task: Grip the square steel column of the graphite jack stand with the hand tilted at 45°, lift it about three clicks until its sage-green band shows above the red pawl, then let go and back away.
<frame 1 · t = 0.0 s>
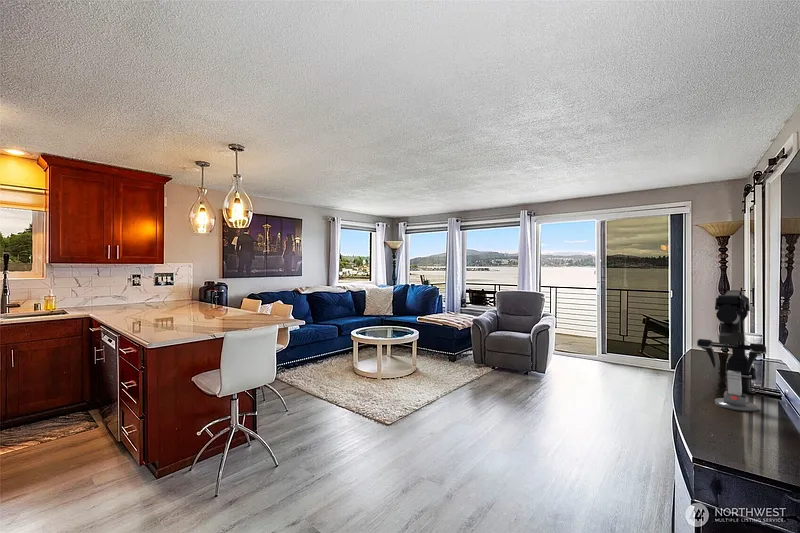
hand: (731, 369, 133), 15 cm above the cabinet, fingers open, 9 cm apart
column: (734, 387, 138), point 7 cm above the cabinet, slide at 0.0 cm
stand base: (735, 406, 138), on the cabinet
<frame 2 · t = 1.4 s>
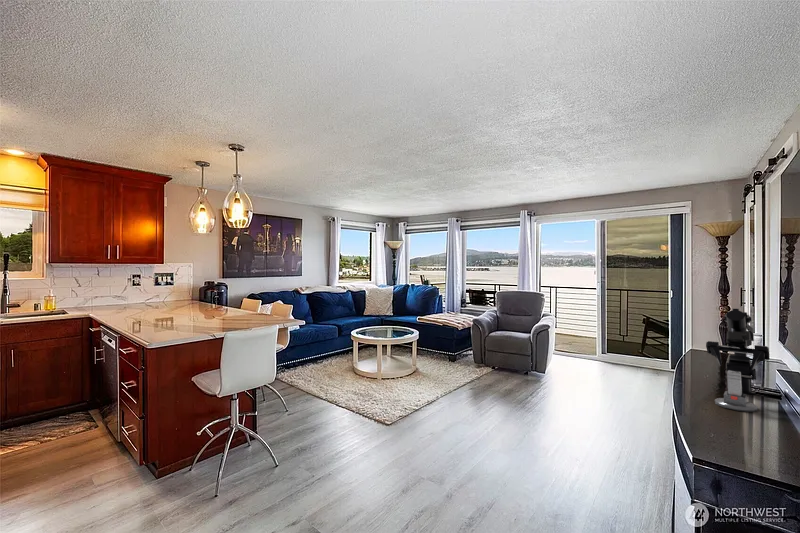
hand: (735, 367, 144), 14 cm above the cabinet, fingers open, 9 cm apart
nothing on the cabinet moved.
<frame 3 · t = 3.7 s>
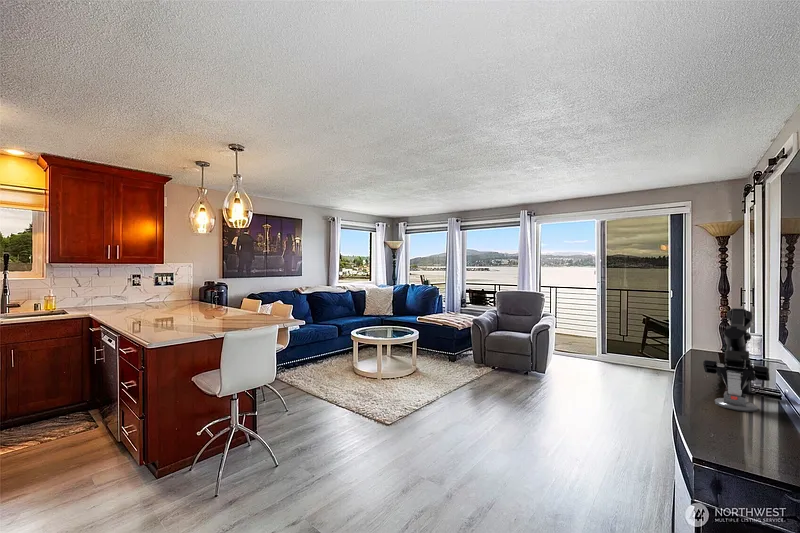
hand: (734, 388, 137), 7 cm above the cabinet, fingers closed on column, 4 cm apart
column: (734, 387, 138), point 7 cm above the cabinet, slide at 0.0 cm, touching gripper
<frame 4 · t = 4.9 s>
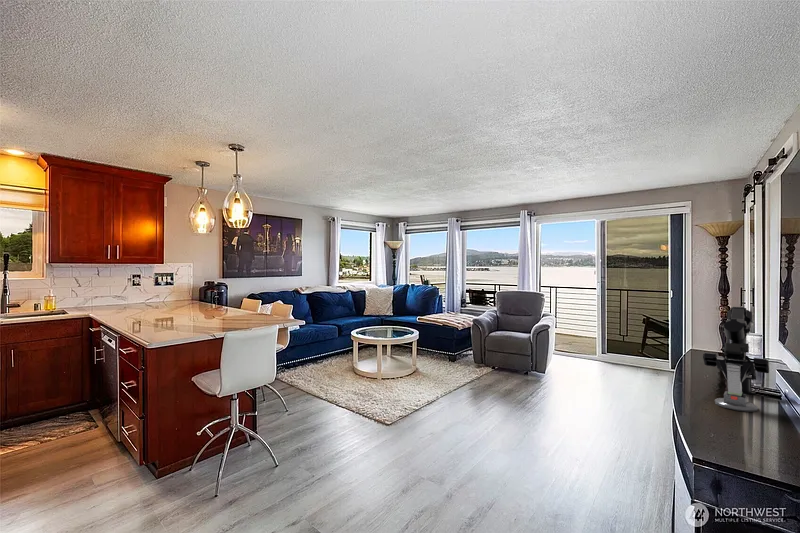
hand: (734, 380, 138), 10 cm above the cabinet, fingers closed on column, 4 cm apart
column: (734, 379, 138), point 10 cm above the cabinet, slide at 2.8 cm, touching gripper
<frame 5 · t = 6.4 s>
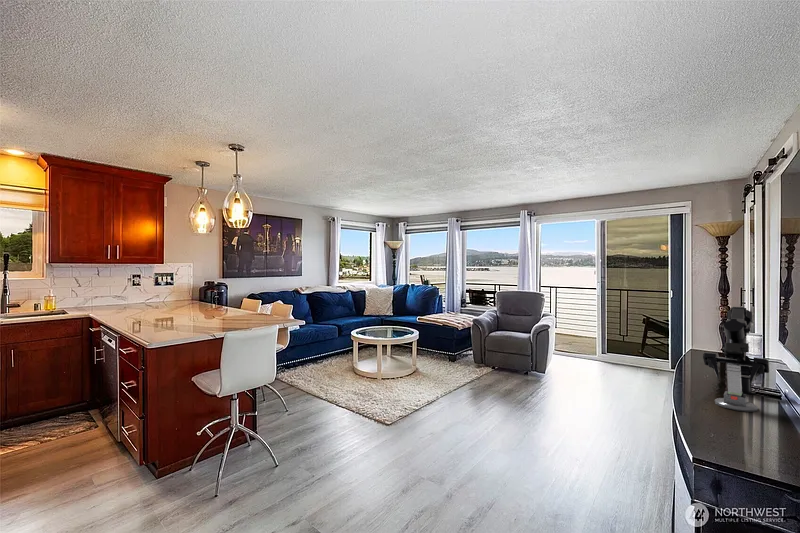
hand: (734, 380, 138), 10 cm above the cabinet, fingers open, 9 cm apart
column: (734, 379, 139), point 10 cm above the cabinet, slide at 2.9 cm
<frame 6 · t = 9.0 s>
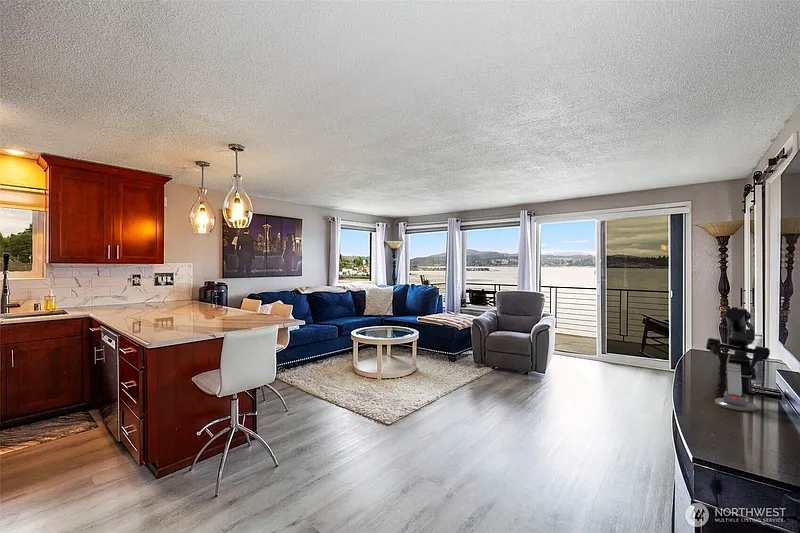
hand: (735, 366, 145), 13 cm above the cabinet, fingers open, 9 cm apart
nothing on the cabinet moved.
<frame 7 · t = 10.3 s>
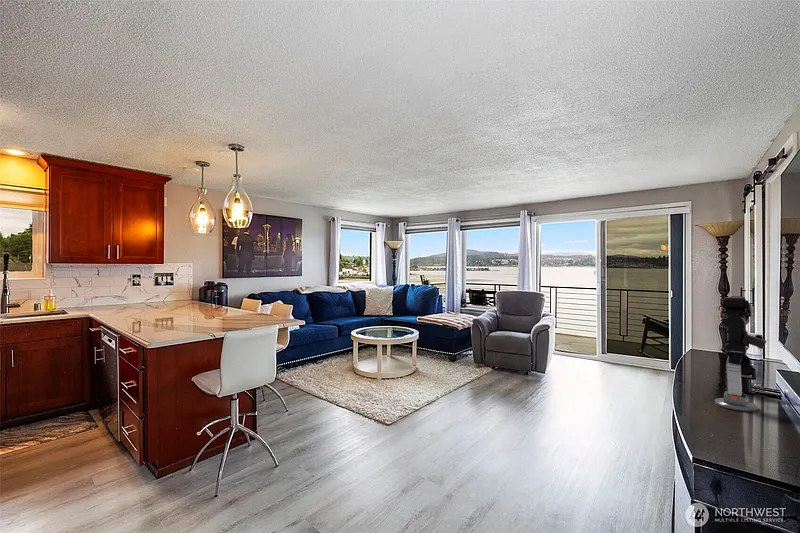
hand: (738, 366, 147), 13 cm above the cabinet, fingers open, 9 cm apart
nothing on the cabinet moved.
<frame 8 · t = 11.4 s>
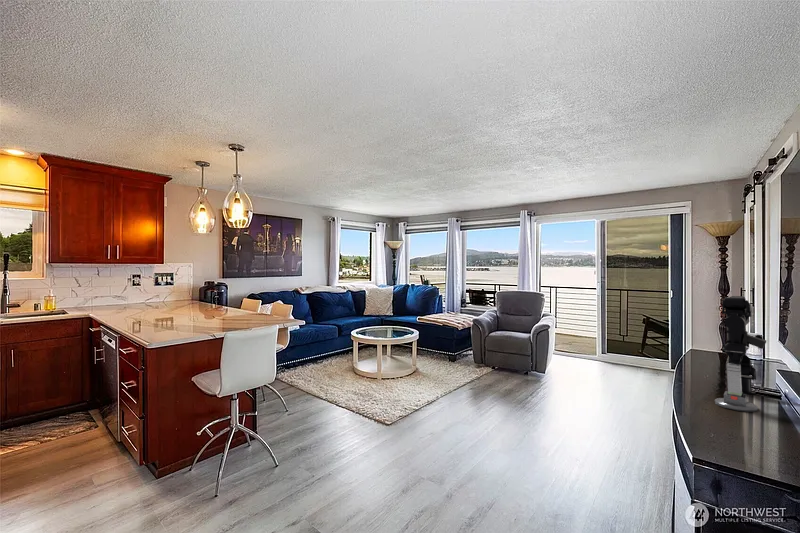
hand: (738, 366, 147), 13 cm above the cabinet, fingers open, 9 cm apart
nothing on the cabinet moved.
at the end: column slide at 2.9 cm; the gripper is holding nothing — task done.
